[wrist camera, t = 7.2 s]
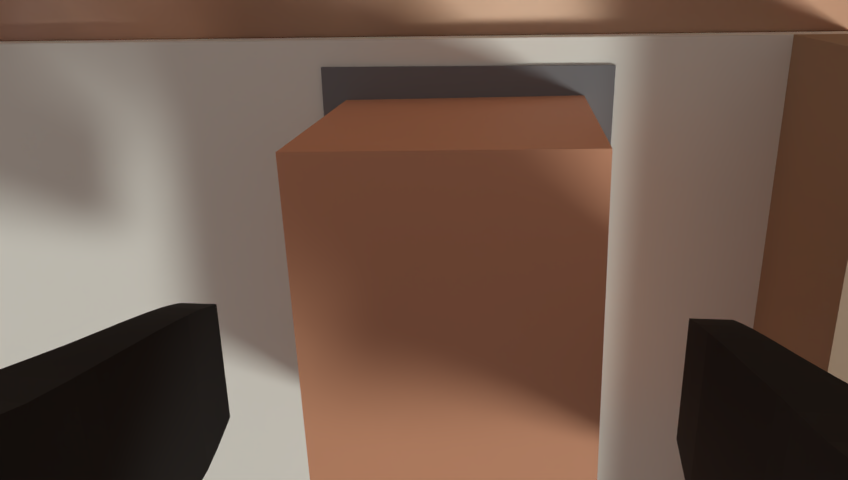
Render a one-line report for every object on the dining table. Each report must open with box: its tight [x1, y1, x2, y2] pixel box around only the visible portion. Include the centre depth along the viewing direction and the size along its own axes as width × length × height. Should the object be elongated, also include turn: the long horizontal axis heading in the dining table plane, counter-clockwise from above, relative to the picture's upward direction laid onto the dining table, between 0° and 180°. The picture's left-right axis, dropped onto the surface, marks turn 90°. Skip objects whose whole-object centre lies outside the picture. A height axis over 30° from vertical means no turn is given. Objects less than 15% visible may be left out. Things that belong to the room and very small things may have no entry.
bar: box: [276, 95, 612, 480], centre depth 13 cm, size 7×4×4 cm, turn 2°
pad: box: [321, 65, 616, 145], centre depth 15 cm, size 8×6×1 cm
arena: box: [0, 31, 848, 480], centre depth 16 cm, size 16×20×4 cm
